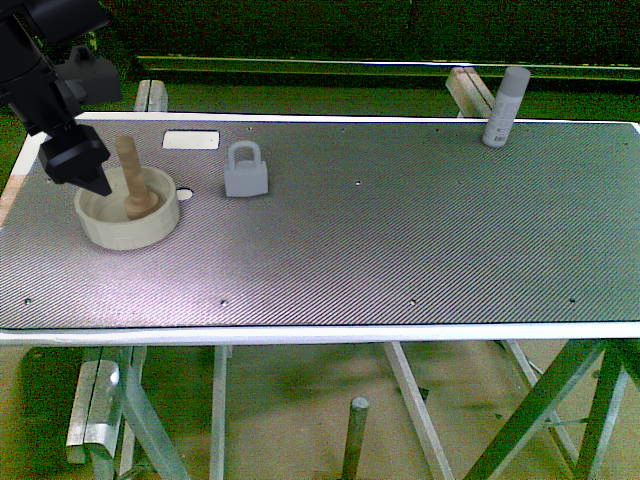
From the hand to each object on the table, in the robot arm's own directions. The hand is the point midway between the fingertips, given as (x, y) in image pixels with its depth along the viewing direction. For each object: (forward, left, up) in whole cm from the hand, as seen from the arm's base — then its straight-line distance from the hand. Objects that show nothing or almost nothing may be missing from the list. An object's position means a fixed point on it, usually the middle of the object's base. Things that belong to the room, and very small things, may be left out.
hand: (97, 174), depth 60 cm
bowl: (+3, +7, -15) cm, 16 cm away
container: (+74, +2, -15) cm, 75 cm away
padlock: (+22, +7, -15) cm, 27 cm away
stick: (+5, +8, -14) cm, 17 cm away
